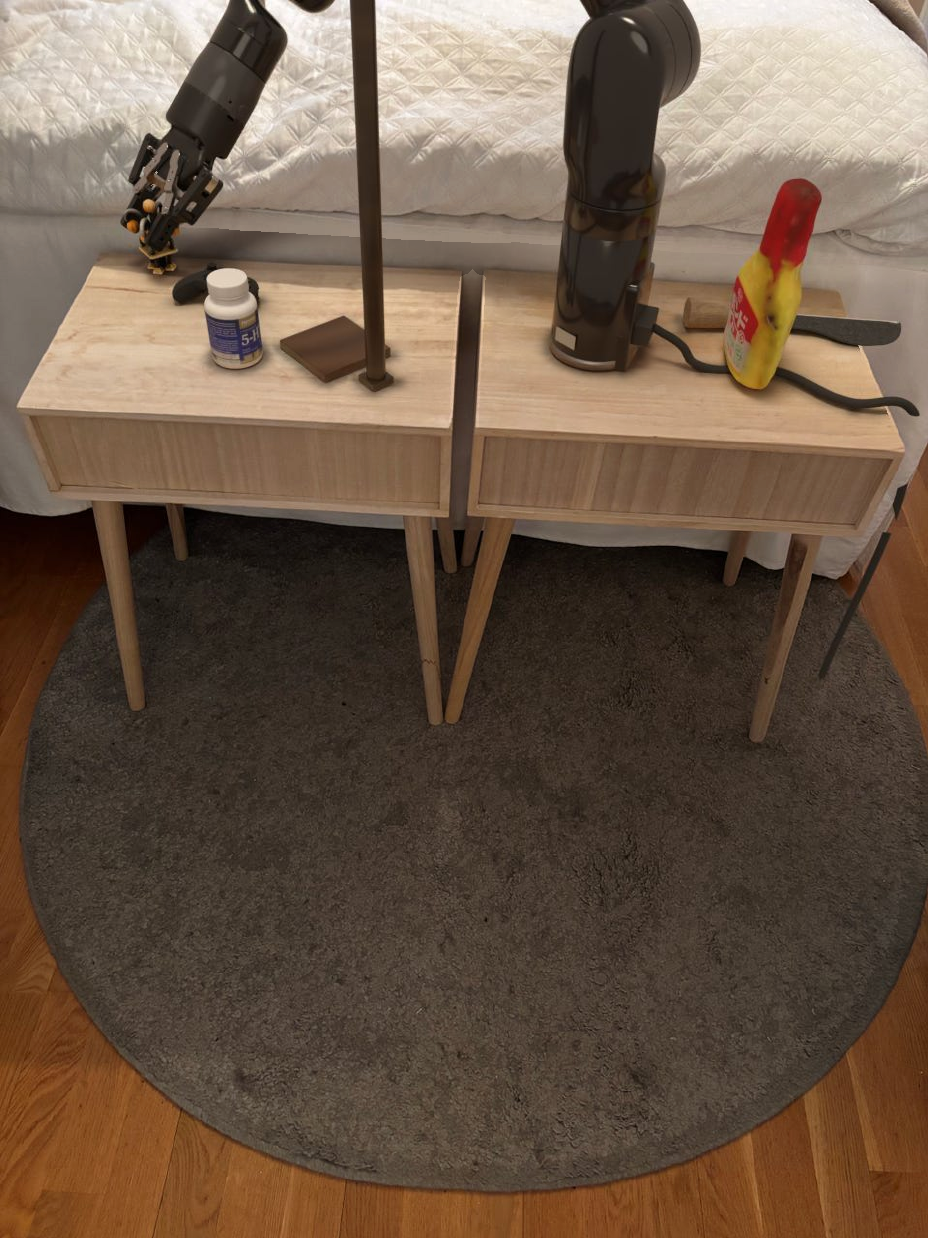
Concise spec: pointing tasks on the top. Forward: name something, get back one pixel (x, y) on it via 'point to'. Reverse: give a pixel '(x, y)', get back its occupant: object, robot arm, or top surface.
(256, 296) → the game controller
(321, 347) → the display stand
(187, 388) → the top surface
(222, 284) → the pill bottle
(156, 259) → the decorative sculpture
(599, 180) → the robot arm
